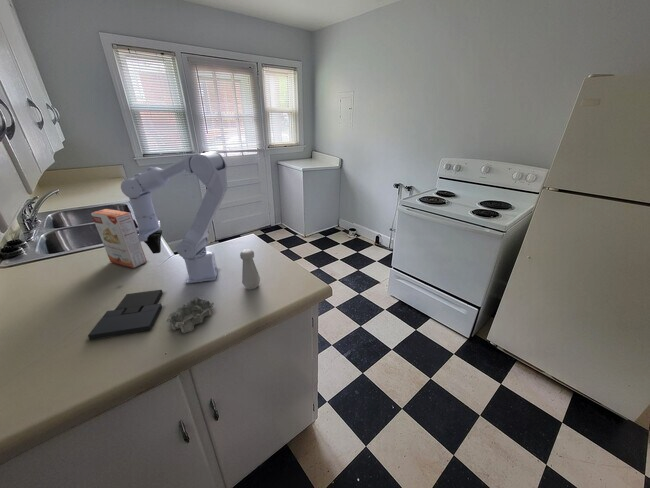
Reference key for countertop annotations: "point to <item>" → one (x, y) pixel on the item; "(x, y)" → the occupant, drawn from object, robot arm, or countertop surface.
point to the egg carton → (190, 314)
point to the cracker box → (119, 237)
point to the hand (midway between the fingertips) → (156, 252)
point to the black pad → (139, 301)
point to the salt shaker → (249, 270)
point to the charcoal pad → (125, 322)
